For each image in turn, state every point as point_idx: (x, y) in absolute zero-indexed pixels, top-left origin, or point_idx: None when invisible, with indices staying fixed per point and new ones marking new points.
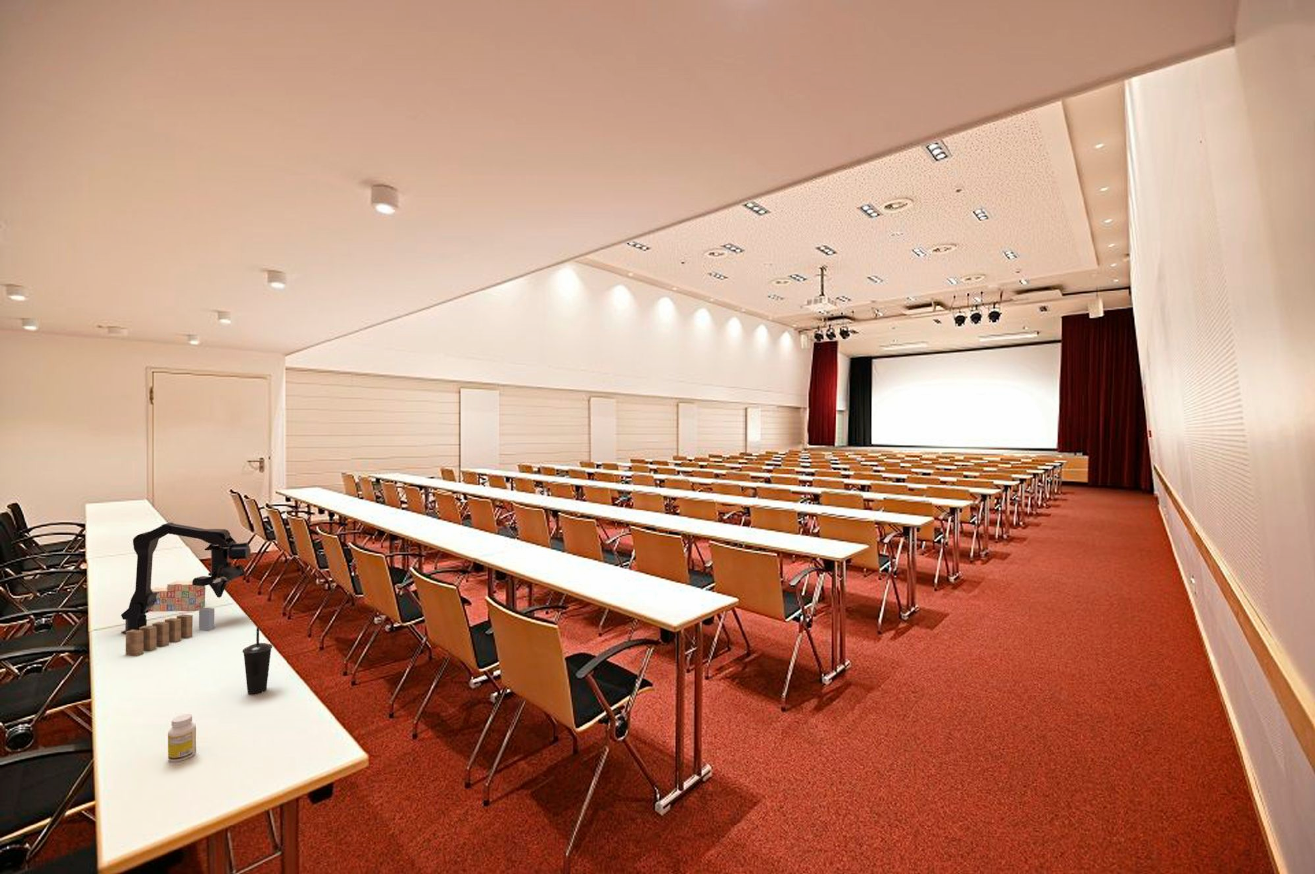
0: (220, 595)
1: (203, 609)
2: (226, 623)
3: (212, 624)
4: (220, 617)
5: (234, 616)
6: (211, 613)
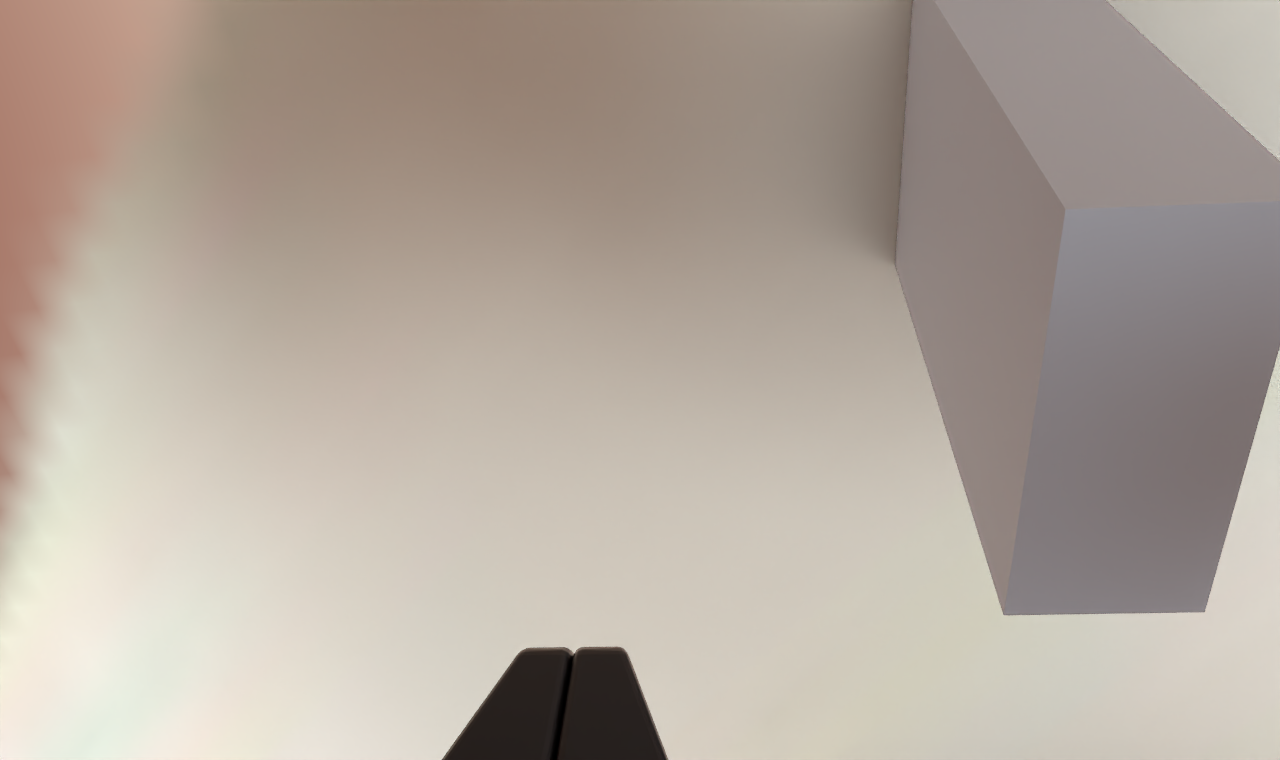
0: (579, 706)
1: (1244, 461)
2: (485, 89)
3: (1003, 3)
4: (274, 543)
5: (92, 364)
6: (1143, 136)
